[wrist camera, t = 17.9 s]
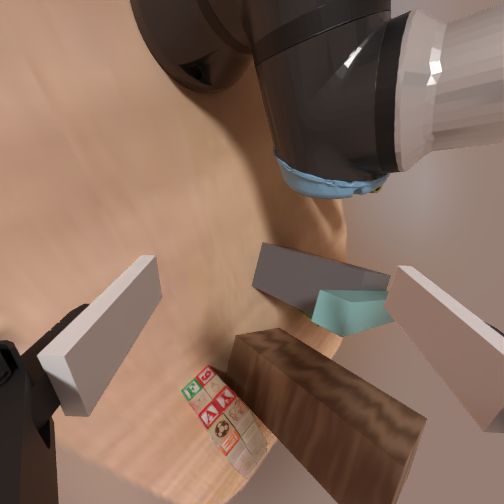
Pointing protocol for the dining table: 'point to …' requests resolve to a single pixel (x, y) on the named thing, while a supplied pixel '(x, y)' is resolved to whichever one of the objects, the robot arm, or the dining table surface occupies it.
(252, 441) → the stack of blocks
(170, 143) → the dining table surface
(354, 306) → the bar
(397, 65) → the robot arm
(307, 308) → the step
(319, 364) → the stand
